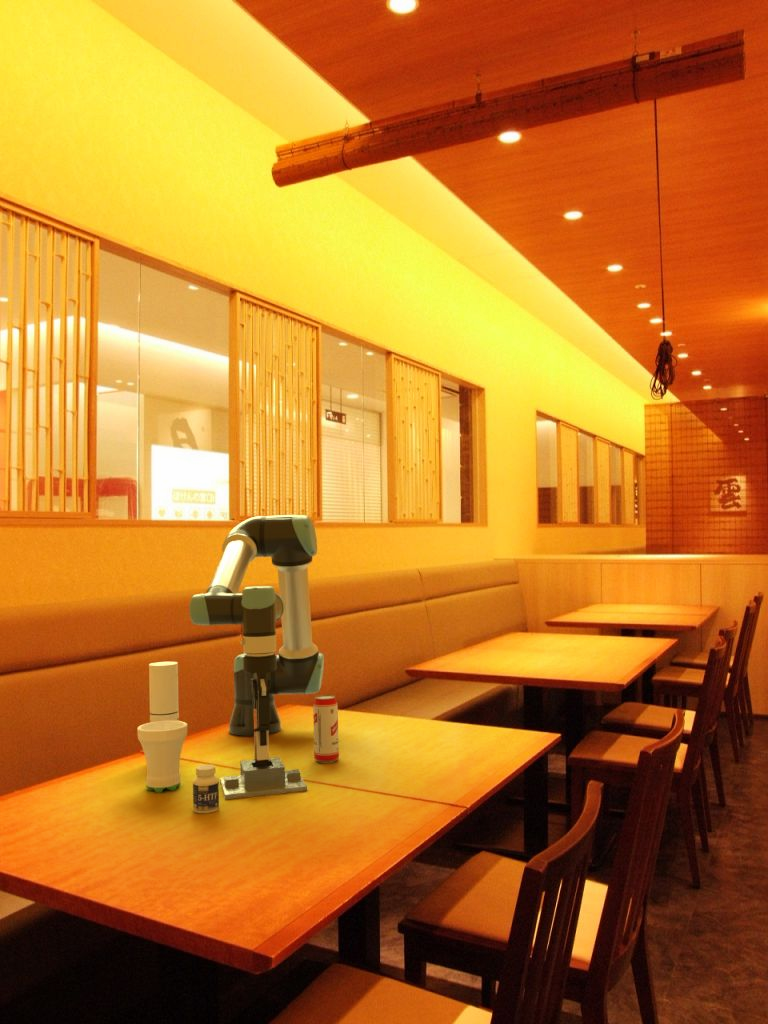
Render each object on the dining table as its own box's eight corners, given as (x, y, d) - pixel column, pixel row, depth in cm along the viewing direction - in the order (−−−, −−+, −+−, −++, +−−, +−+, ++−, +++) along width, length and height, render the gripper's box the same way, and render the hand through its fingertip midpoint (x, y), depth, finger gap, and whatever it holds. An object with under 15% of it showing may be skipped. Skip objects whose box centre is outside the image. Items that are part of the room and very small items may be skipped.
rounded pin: (254, 760, 191) (253, 708, 192) (268, 759, 192) (266, 706, 192) (255, 764, 188) (254, 710, 188) (269, 762, 189) (268, 709, 189)
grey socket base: (220, 781, 194) (219, 760, 194) (296, 774, 199) (296, 753, 199) (225, 799, 181) (224, 776, 181) (307, 790, 186) (306, 767, 186)
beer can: (340, 757, 214) (339, 694, 214) (337, 763, 207) (335, 699, 208) (316, 757, 214) (315, 694, 215) (312, 763, 208) (310, 699, 209)
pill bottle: (197, 815, 170) (196, 771, 171) (190, 808, 175) (189, 766, 175) (222, 811, 173) (221, 768, 173) (215, 804, 178) (214, 762, 178)
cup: (166, 778, 198) (165, 718, 199) (199, 785, 192) (197, 723, 192) (127, 790, 189) (126, 727, 190) (160, 798, 183) (158, 733, 183)
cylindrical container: (144, 764, 212) (143, 665, 213) (162, 756, 219) (160, 661, 220) (168, 766, 210) (166, 666, 210) (185, 758, 216) (183, 662, 217)
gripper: (239, 650, 198) (241, 750, 197) (247, 659, 182) (249, 767, 181) (271, 648, 200) (273, 747, 199) (281, 657, 184) (283, 764, 183)
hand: (261, 757), depth 190 cm, fingers closed on rounded pin, 3 cm apart
